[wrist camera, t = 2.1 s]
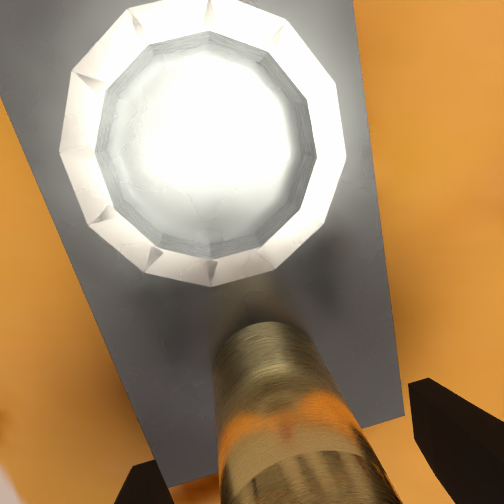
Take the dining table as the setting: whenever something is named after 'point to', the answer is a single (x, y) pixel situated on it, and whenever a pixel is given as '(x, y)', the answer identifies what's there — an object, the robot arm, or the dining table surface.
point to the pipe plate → (207, 192)
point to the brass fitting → (288, 426)
